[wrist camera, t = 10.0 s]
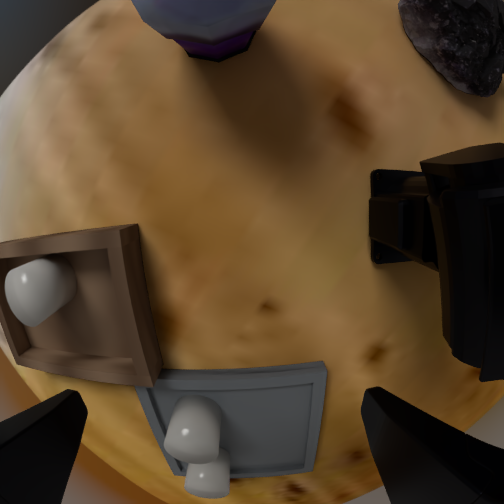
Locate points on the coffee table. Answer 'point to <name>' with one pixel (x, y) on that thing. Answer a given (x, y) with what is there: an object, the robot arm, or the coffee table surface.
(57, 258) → the stone
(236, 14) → the potion bottle
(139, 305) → the walnut box
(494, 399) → the coffee table surface
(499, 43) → the crystal cluster
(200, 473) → the stone
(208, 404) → the stone
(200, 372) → the slate tray
